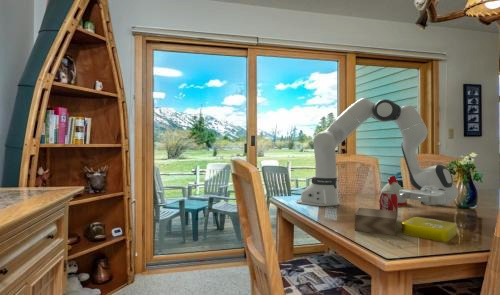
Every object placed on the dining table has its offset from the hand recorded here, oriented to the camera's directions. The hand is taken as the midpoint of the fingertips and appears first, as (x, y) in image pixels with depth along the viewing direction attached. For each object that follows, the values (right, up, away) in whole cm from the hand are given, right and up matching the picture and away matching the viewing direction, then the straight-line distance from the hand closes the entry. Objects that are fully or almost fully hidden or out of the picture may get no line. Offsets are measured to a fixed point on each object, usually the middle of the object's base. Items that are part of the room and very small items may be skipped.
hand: (409, 197), depth 141 cm
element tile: (-5, -10, -24) cm, 27 cm away
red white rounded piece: (+7, -9, +33) cm, 35 cm away
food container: (+27, -9, +31) cm, 42 cm away
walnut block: (-22, -9, -18) cm, 29 cm away
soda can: (-11, -9, -5) cm, 15 cm away
